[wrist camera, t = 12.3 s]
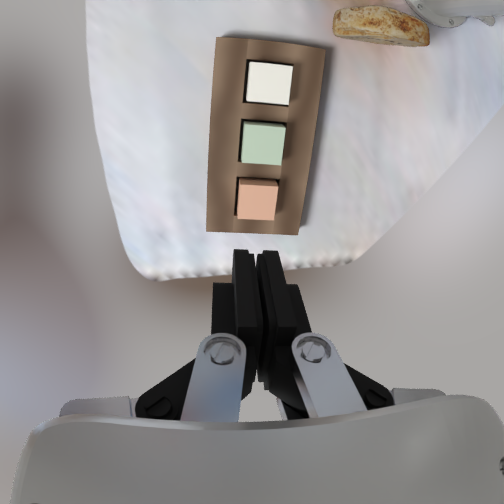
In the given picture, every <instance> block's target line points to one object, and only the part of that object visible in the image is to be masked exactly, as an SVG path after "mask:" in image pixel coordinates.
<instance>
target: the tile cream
mask: <svg viewBox="0 0 504 504" xmlns="http://www.w3.org/2000/svg"><path fill="white" fill-rule="evenodd" d="M292 70H293V66H286V65H278V64H269V63H259V62H250V63H249V70H248V81H247V92H246V100H247V101H253V102H265V103H275V104H284V105H289V96H290V88H291V79H292Z"/></svg>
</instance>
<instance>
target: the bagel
mask: <svg viewBox="0 0 504 504" xmlns="http://www.w3.org/2000/svg"><path fill="white" fill-rule="evenodd" d="M333 33H334V35H335V36H337V37H340V38H345V39H352V40H358V41H365V42H371V43H377V44H386V45H400V46H407V47H417V46H428V45H429V43H430V35H429V28H428V26H427V24H426V23H425V22H424V21H421V20H419V19H418V18H416V17H414V16H410V15H408V14H405V13H402V12H400V11H397V10H394V9H392V8H388V7H384V6H367V7H353V8H343V9H340V10H337V11H336V12H335V15H334V18H333Z"/></svg>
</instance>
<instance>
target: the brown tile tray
mask: <svg viewBox="0 0 504 504" xmlns="http://www.w3.org/2000/svg"><path fill="white" fill-rule="evenodd" d="M325 52H326V50H325V49H320V48H315V47H309V46H303V45H297V44H290V43H283V42H275V41H266V40H256V39H244V38H227V37H216V47H215V58H214V71H213V84H212V99H211V115H210V133H209V154H208V180H207V218H206V232H233V233H258V234H281V235H298V232H299V227H300V221H301V215H302V210H303V204H304V198H305V192H306V186H307V180H308V174H309V168H310V162H311V155H312V149H313V142H314V136H315V129H316V122H317V115H318V108H319V100H320V93H321V85H322V77H323V69H324V61H325ZM250 62H259V63H269V64H278V65H286V66H293V70H292V79H291V88H290V96H289V105H284V104H275V103H265V102H253V101H247V100H246V92H247V81H248V70H249V63H250ZM244 121H251V122H264V123H275V124H282V125H283V126H284V127H285V128H286V130H285V138H284V146H283V154H282V162H281V165H269V164H254V163H242V160H241V151H242V139H243V127H244ZM239 177H243V178H260V179H275V180H276V182H277V185H278V193H277V201H276V209H275V216H274V220H253V219H238V217H237V203H238V190H239Z"/></svg>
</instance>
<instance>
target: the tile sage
mask: <svg viewBox="0 0 504 504" xmlns="http://www.w3.org/2000/svg"><path fill="white" fill-rule="evenodd" d="M285 130H286V128H285V127H284V126H283V125H282V124H275V123H264V122H251V121H244V127H243V139H242V151H241V160H242V163H254V164H269V165H281V162H282V154H283V146H284V138H285Z"/></svg>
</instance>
